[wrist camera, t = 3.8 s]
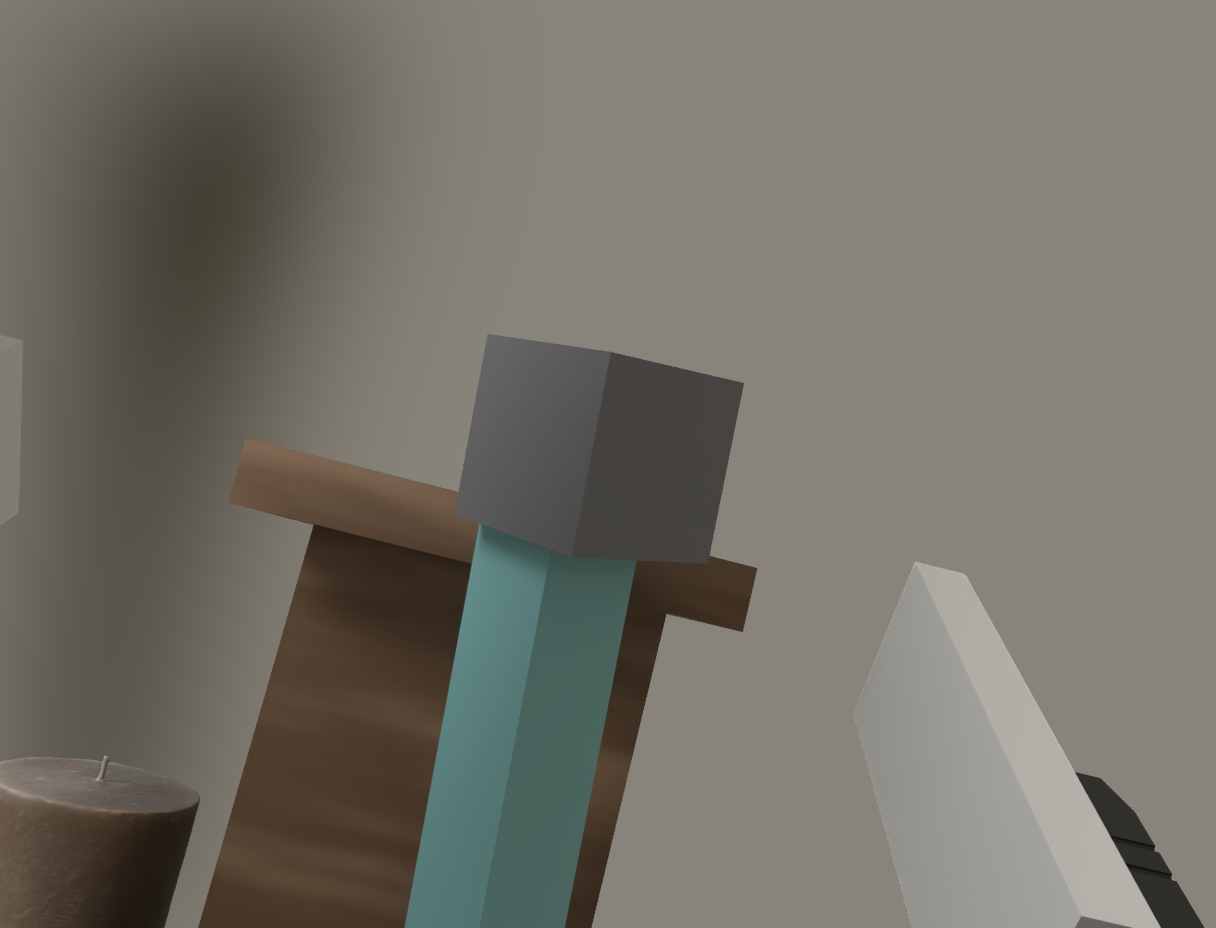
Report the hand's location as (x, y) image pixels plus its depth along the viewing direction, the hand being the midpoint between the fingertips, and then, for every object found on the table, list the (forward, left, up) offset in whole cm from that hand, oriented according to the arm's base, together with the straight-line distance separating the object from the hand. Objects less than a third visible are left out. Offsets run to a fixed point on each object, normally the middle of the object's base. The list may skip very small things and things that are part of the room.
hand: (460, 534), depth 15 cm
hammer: (+14, +9, -5) cm, 17 cm away
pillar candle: (+21, +35, -29) cm, 50 cm away
